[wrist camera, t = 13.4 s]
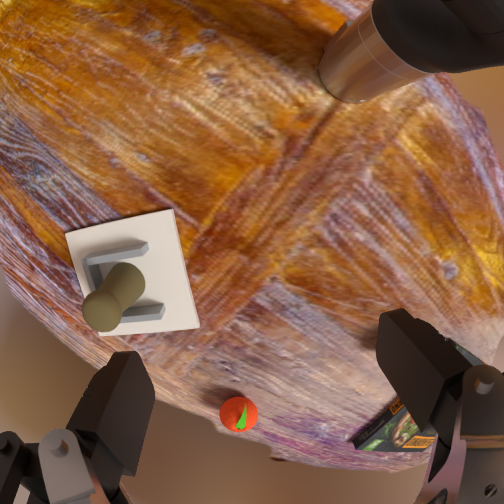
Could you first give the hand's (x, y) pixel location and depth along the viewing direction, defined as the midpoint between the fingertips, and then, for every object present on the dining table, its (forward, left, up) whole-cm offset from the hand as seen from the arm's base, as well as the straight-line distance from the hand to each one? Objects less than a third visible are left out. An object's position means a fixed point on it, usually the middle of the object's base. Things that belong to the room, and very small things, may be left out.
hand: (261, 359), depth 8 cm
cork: (+7, -18, -29) cm, 35 cm away
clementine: (+34, -6, -30) cm, 46 cm away
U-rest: (+7, -18, -30) cm, 36 cm away
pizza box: (+57, +43, -31) cm, 78 cm away
